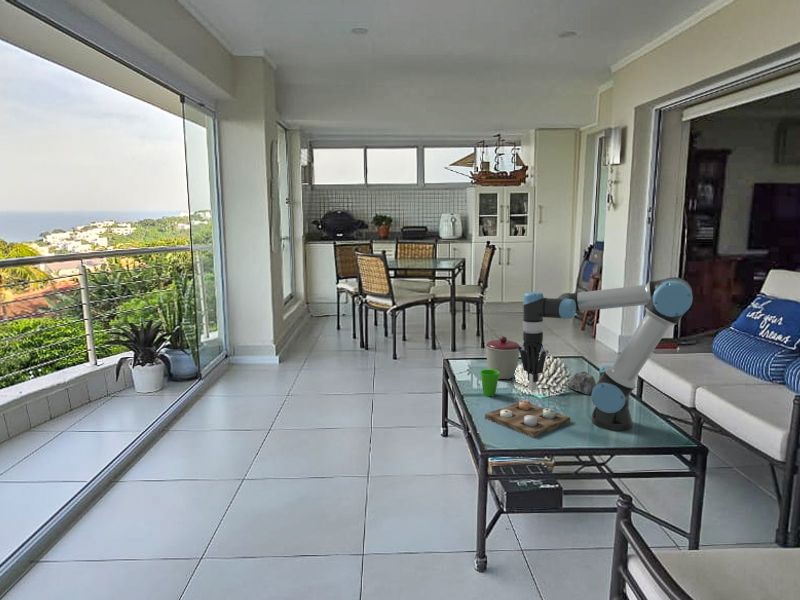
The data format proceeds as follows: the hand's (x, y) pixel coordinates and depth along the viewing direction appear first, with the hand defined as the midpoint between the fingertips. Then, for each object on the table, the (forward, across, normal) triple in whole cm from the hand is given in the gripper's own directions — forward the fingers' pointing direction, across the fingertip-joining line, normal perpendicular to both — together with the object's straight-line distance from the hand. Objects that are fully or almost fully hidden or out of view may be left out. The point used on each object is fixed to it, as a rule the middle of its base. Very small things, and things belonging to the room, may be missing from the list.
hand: (532, 389), depth 217 cm
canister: (+12, +45, -37) cm, 60 cm away
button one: (+13, +8, +7) cm, 16 cm away
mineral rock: (+14, +8, -49) cm, 51 cm away
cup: (+13, +32, -11) cm, 36 cm away
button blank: (+12, -4, +7) cm, 14 cm away
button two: (+12, -4, -5) cm, 14 cm away
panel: (+13, +2, +1) cm, 13 cm away
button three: (+12, +8, -5) cm, 15 cm away
